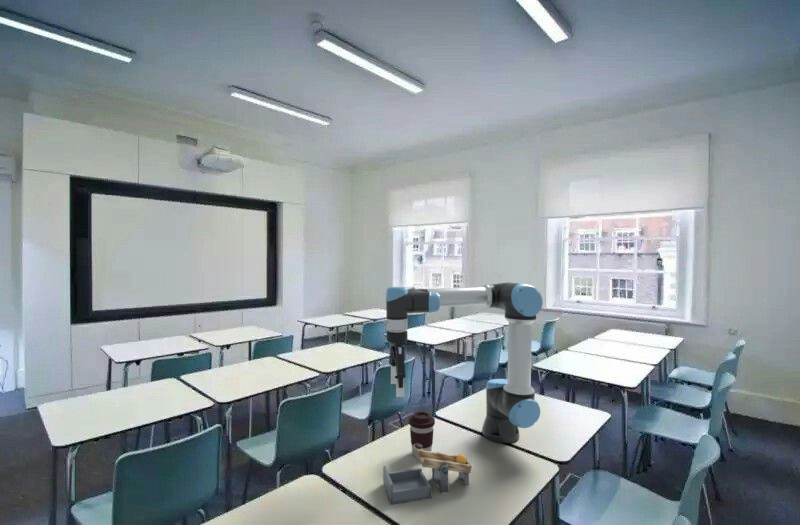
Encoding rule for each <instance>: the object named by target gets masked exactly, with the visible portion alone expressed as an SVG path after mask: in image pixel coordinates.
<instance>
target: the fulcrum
mask: <svg viewBox="0 0 800 525" xmlns="http://www.w3.org/2000/svg"><path fill="white" fill-rule="evenodd" d="M436 452H437V453H440V452H439V451H436ZM431 470H432V471H431V475H432V476H431V478H432V479H433V481H434V482H435V483H436V485H437V488H438V489H439V491H440V493H441V494H444V493H449V470H448V465H440V469H435V468H431Z"/></svg>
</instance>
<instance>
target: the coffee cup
mask: <svg viewBox="0 0 800 525" xmlns="http://www.w3.org/2000/svg"><path fill="white" fill-rule="evenodd" d="M408 424H409V431H410V435H409V436H410V444H411V454H412V456H413V457H415V458H416V459H418V457H417V456H418V454H417V452H416V450H415V449H414V447H413V446H414V444H415V443H419V444H421V445H422V446H423V447H422V449H423V450H424V451H431V452H433V451H432V450H433V449H432V447H433V443H434V426H435V424H436V419H435V417H433V415H432V414H430V413H429V412H426V411H416V412H414V413H413V414H412V415H411V416H410V417H409V418H408Z"/></svg>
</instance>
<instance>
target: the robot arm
mask: <svg viewBox="0 0 800 525" xmlns="http://www.w3.org/2000/svg"><path fill="white" fill-rule="evenodd" d="M543 304H544V303H543V297H542V294H541V292H540V291H539V290H538V289H537V287H535V286H533V285H531V284H527V283H517V282H508V281H507V282H501V283H493V284H484V285H483V286H482V287H480V286H479V287H477V286H476V287H474V286H473V287H445V288H443V287H442V288H440V287H439V288H407V287H405V286H391V287H388V288H387V289H386V296H385V309H386V310H385V311H386V321H384V324H385V325H386V330H387V331H386V333H385V334H386V335H385V336H386V341H387V342H388V343H390V358H389V363H390V385H395V386H396V387H395V388H396V390H395V393H396V394H395V396H396V398H403V397H405V378H406V369H405V364H406V363H405V354H404V352H405V348H404V347H403V345H402V344H403V343H407V342H408V340H409V339H408V338H409V337H408V331H407V330H408V328H409V326H408V325H409V324H408V321H409V320H408V319H409V318H408V314H417V313H418V314H419V313H420V314H421V313H422V314H423V313H424V314H425V313H429V314H431V313H437V312H439V311H440V309H441V308H452V307H453V308H454V307H474V306H475V307H476V306H477V307H478V306H483V307H484V308H486V309H488V308H489V309H490V308H491V309H492V308H493V309H499V310H503V311H504V318H505V320H506V321H507V323H508V334H507V336H508V337H507V338H508V340H507V342H508V343H507V344H508V345H507V378H494V379H489V380H488V381H487V382H486V389H485V390H486V391H485V392H486V399H485V402H486V405H485V406H486V408H485V409H486V411H485V412H486V416H485V418H484V421H483V423H482V428H481V433H482V436H483V437H484V438H485V439H487V440H489V441H491V442H494V443H499V444H511V443H515V442H517V441H518V440H519V439H520V430H519V428H520V429H529V428H531V427H532V426H534V425H535V423H537V422H538V420H539V419H540V416H541V407H540V405H539V403H538V401H536V400H535V395H536V394H535V392H536V391H535V389H534V388H533V386H532V385H531V384H532V383H531V382H532V381H531V380H532V379H531V378H532V376H531V375H532V340H533V339H532V337H533V336H532V335H533V333H532V332H533V330H532V329H533V323H535V322H536V320H537V315H538V314H539V313H540V311H541V310H542V307H543Z"/></svg>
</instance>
